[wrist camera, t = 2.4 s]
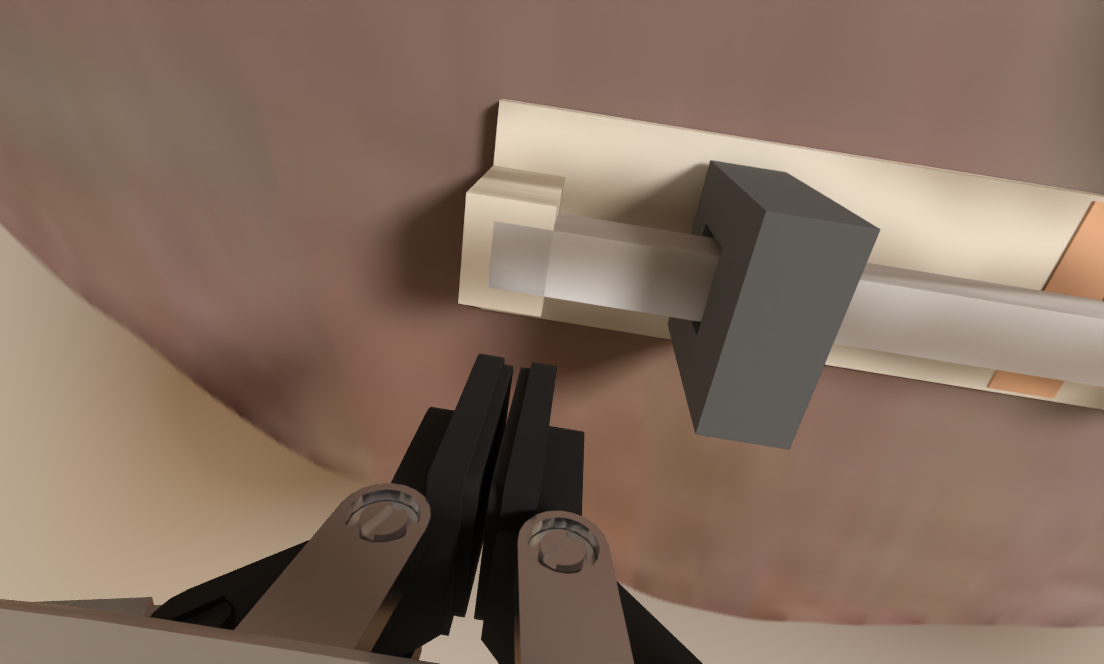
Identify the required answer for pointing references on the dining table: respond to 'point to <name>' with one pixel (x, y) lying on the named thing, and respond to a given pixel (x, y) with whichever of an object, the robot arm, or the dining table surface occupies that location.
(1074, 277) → the pipe rig
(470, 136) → the dining table surface
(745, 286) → the collar
